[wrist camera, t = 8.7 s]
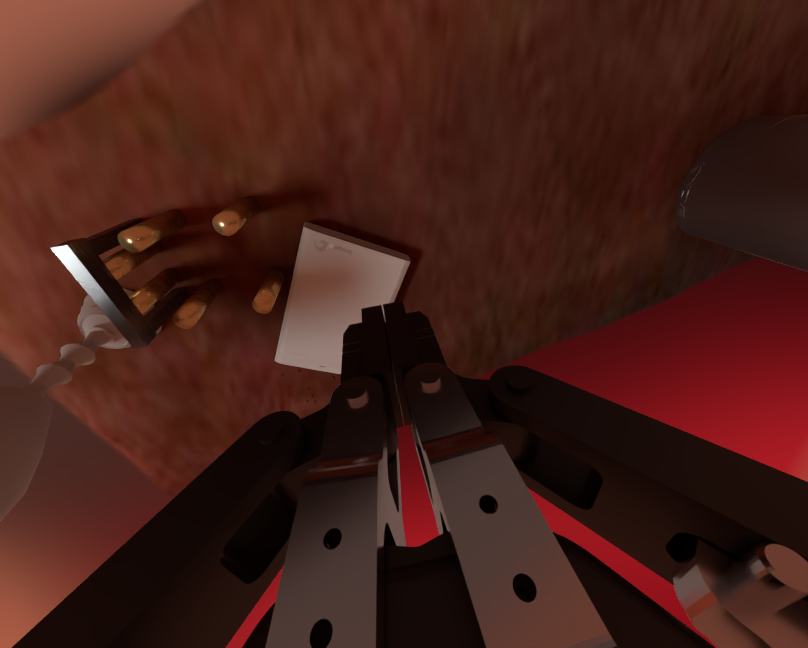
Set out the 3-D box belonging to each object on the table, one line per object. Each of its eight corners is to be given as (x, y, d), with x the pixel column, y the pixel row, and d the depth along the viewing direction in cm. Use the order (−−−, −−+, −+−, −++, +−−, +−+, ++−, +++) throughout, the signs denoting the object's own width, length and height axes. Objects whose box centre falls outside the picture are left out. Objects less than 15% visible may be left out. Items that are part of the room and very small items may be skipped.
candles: (254, 195, 20) (222, 217, 15) (287, 279, 24) (271, 321, 19) (123, 217, 20) (46, 248, 15) (177, 300, 23) (130, 349, 18)
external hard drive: (302, 227, 20) (273, 363, 26) (412, 262, 23) (363, 378, 29) (305, 220, 22) (277, 351, 28) (408, 254, 24) (362, 367, 30)
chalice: (113, 360, 25) (-223, 691, 10) (39, 291, 21) (-656, 659, 7) (196, 336, 25) (-20, 633, 10) (137, 263, 21) (-334, 566, 7)
